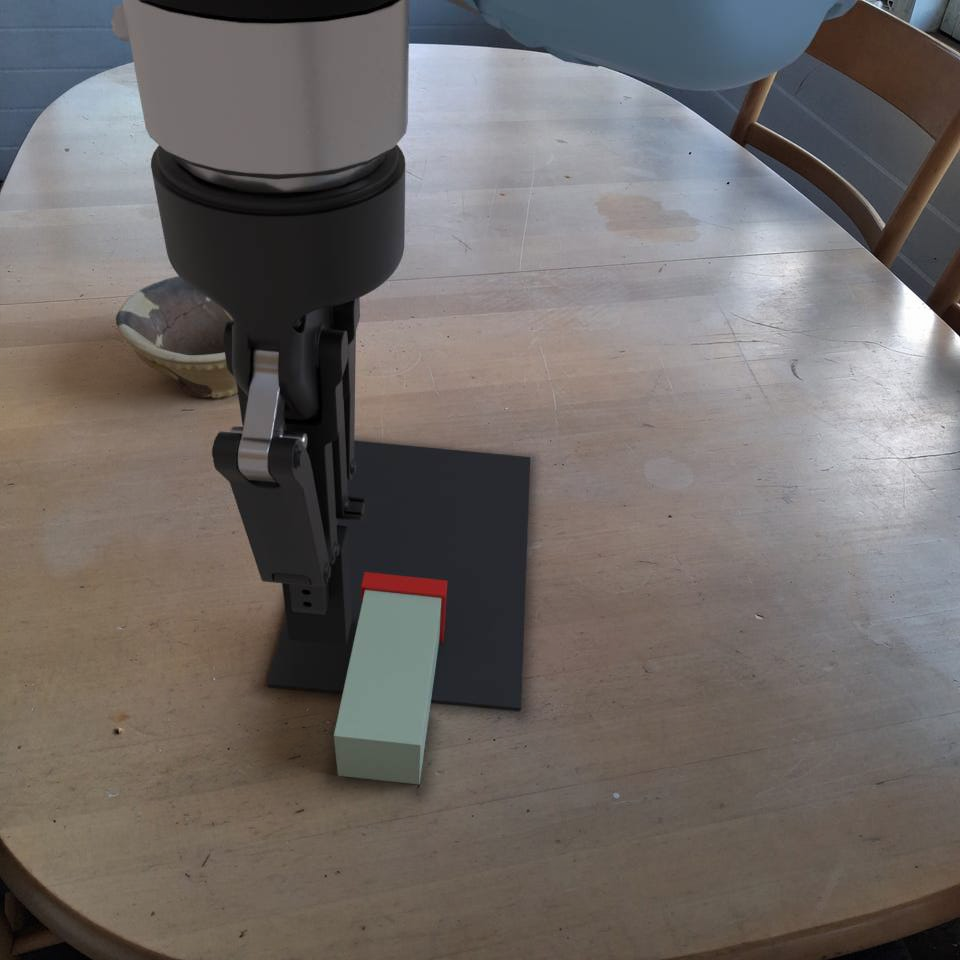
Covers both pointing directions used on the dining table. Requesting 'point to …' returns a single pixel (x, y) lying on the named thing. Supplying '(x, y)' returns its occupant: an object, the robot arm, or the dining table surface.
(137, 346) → the bowl
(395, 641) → the container
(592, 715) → the dining table surface
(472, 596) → the mat
